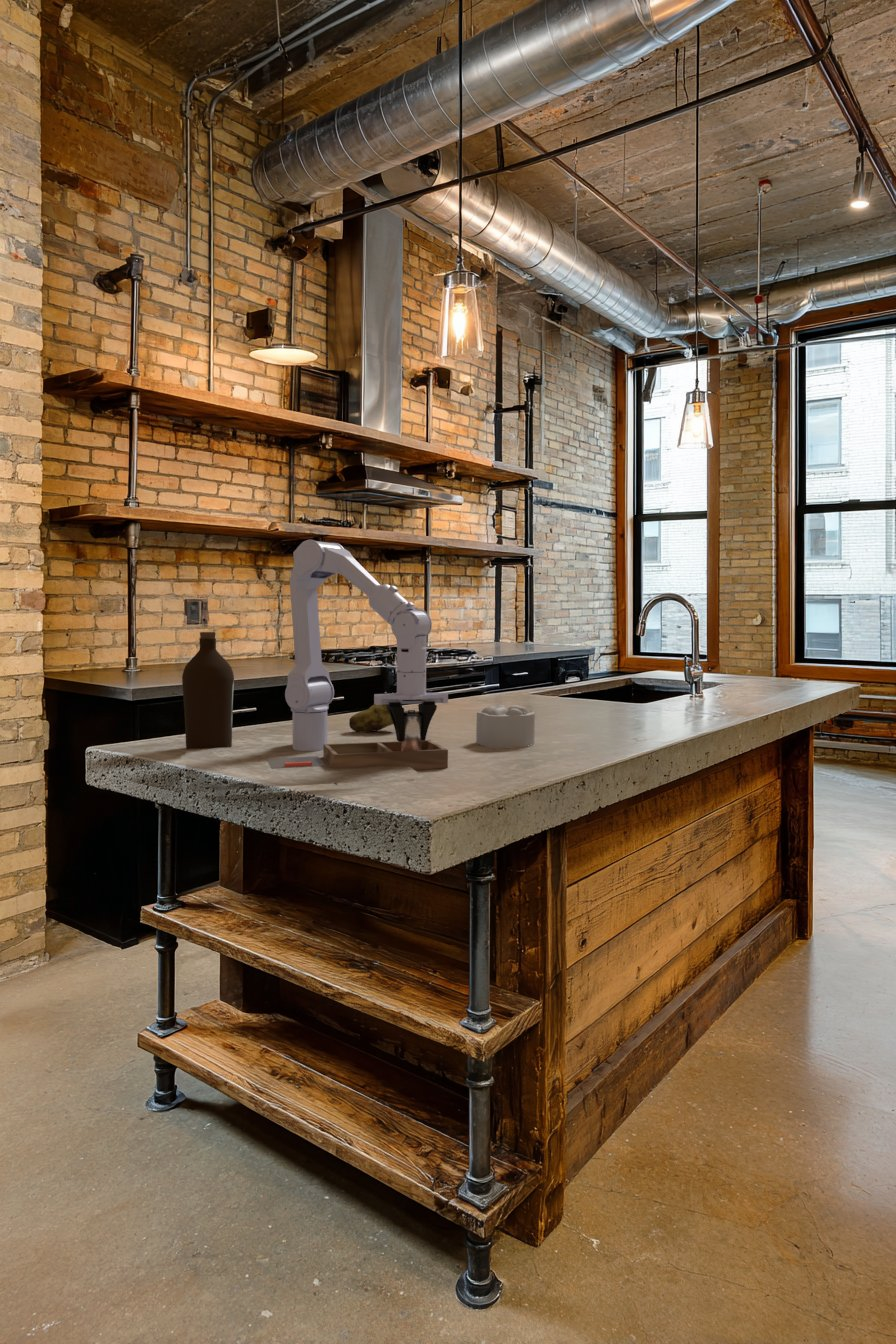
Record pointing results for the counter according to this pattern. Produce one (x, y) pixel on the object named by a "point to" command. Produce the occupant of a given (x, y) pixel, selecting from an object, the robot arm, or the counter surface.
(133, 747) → the counter surface
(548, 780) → the counter surface
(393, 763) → the sorting tray
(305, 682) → the robot arm
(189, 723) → the olive oil
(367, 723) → the potato
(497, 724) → the lumpy-topped squat cylinder
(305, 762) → the grey square base plate
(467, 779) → the counter surface
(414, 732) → the cell
